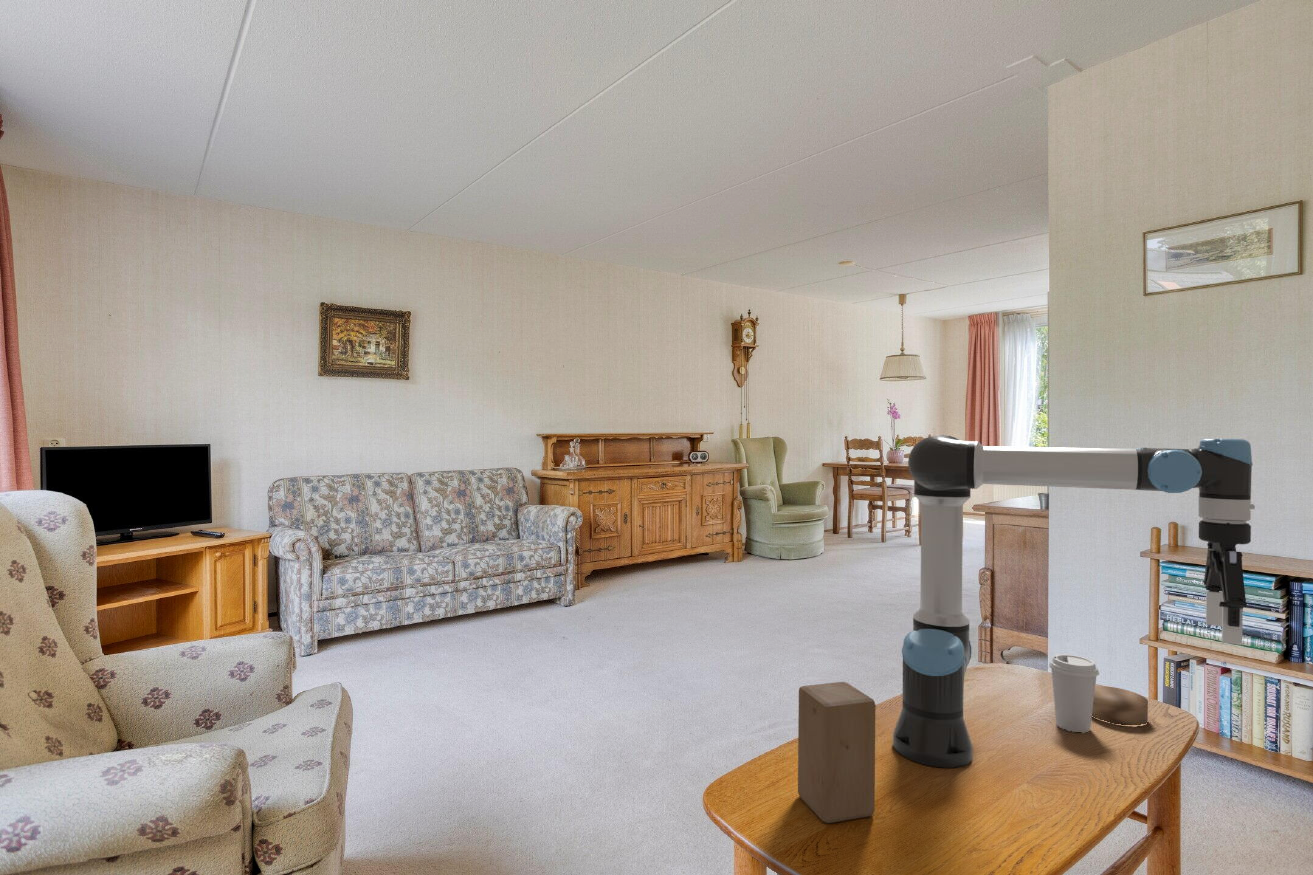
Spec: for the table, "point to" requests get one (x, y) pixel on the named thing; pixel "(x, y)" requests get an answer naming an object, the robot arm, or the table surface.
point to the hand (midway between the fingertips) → (1222, 634)
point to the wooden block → (836, 751)
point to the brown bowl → (1119, 706)
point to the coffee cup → (1073, 691)
